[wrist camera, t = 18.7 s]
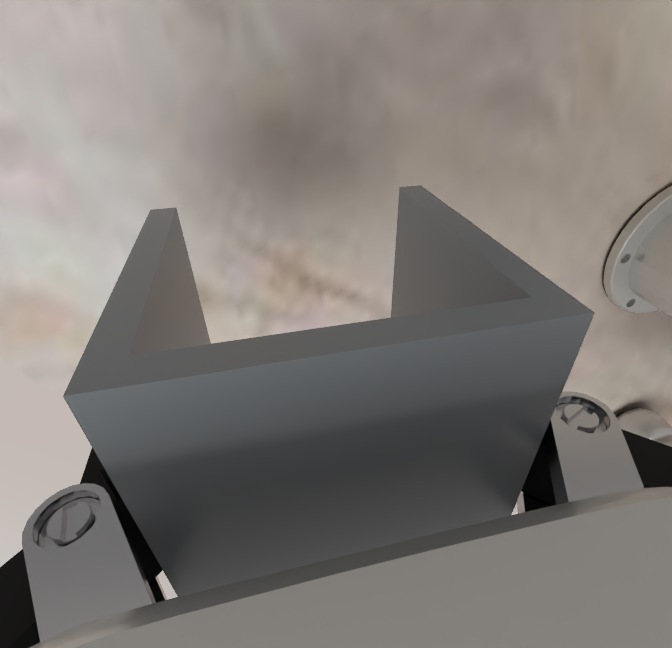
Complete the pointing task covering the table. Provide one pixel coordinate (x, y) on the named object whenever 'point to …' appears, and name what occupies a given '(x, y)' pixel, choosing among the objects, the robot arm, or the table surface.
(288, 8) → the table surface
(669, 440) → the plastic bottle
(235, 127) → the table surface
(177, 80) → the table surface
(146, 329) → the cover
